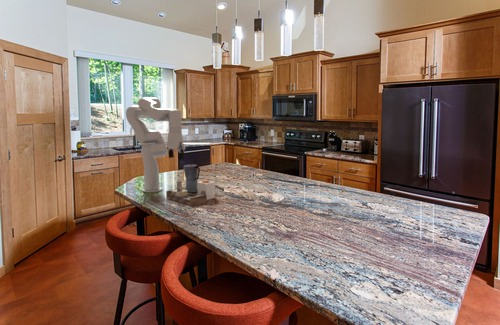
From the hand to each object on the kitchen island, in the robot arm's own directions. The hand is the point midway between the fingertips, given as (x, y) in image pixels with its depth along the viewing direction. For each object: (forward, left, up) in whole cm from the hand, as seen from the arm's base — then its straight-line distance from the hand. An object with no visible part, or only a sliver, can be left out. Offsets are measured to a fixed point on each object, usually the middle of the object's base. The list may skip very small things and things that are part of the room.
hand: (176, 158), depth 199 cm
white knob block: (+14, +11, -25) cm, 30 cm away
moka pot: (-5, +16, -25) cm, 30 cm away
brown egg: (+14, +11, -18) cm, 25 cm away
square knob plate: (+2, 0, -23) cm, 23 cm away
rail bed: (+8, 0, -25) cm, 26 cm away
